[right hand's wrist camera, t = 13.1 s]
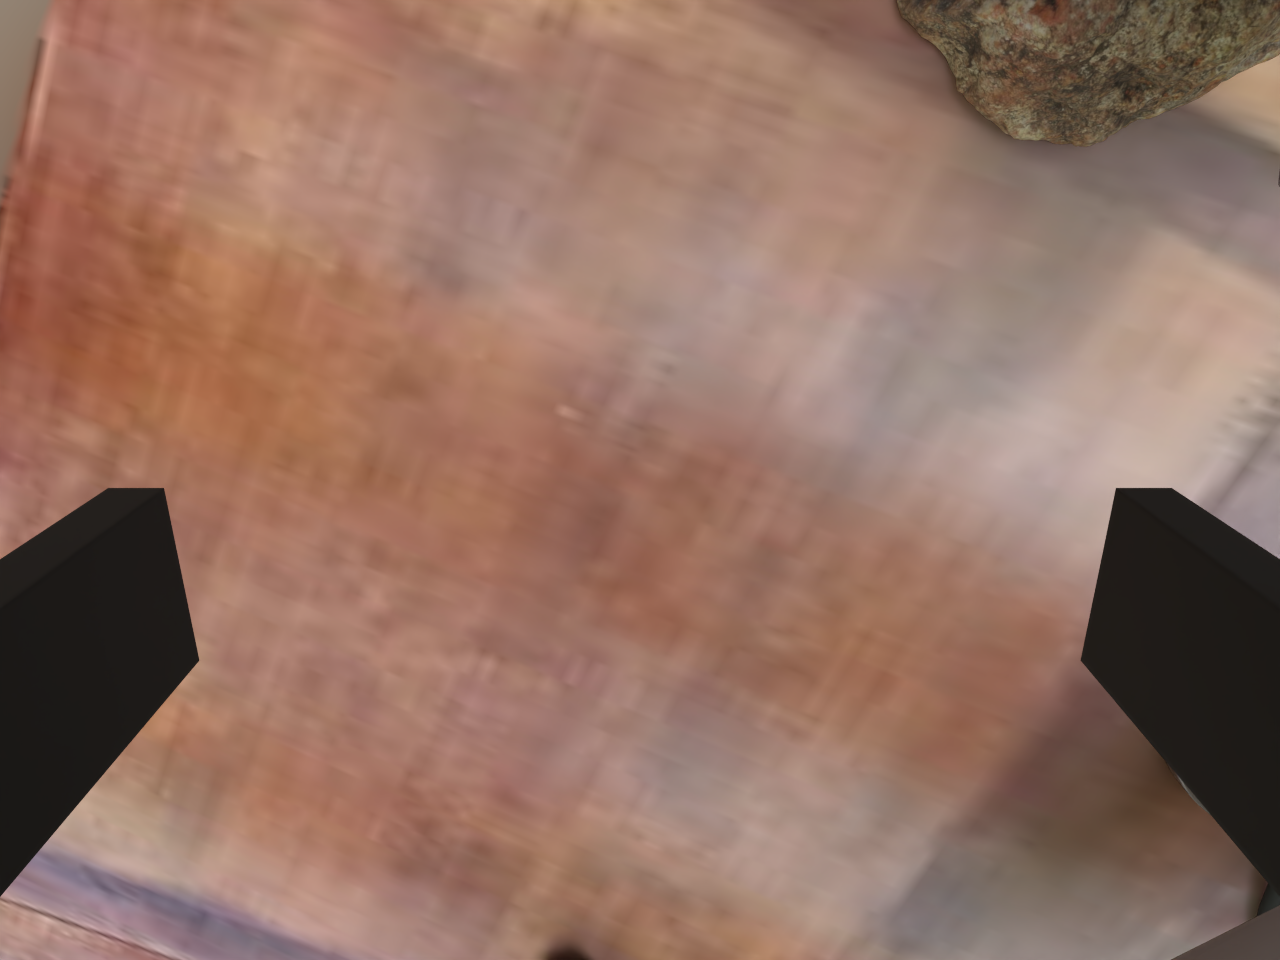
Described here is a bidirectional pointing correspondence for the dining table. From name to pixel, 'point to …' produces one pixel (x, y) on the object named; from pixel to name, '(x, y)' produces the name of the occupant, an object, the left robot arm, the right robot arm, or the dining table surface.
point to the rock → (1092, 57)
